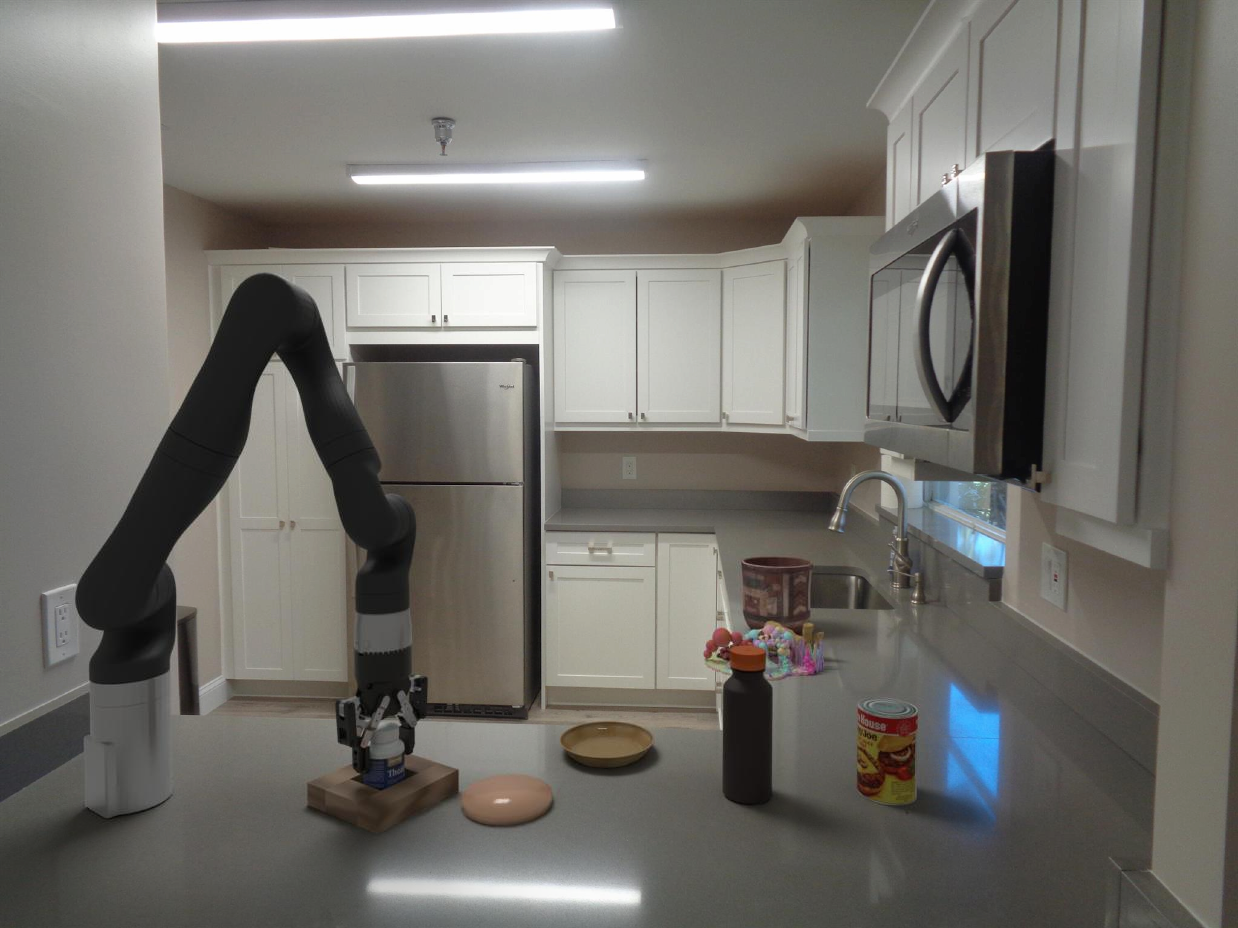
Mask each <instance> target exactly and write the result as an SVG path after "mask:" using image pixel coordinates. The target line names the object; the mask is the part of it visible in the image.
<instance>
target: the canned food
mask: <svg viewBox="0 0 1238 928" xmlns="http://www.w3.org/2000/svg"><path fill="white" fill-rule="evenodd" d="M918 717H919V711H918V707H916V706H915V705H914V704H912V703H910V702H907V701H904V700H902V699H896V698H893V697H892V698H891V697H884V696H883V697H879V696H875V697H866V698H863V699H860V700H859V701H858V702H857V725H856V727H857V731H856V732H857V737H856V739H857V743H856V744H857V745H856V747H857V750H856V751H857V753H856V763H857V764H856V790H857V793H858V794H859V795H860V796H862V797H863V798H865V799H866V800H868V801H870V802H873V803H877V804H881V805H885V806H894V807H895V806H906V805H910V804H913V803H914V802H915V801H916V800H917V799H918V797H917V796H918V791H917V790H918V737H919V735H918V734H919V733H918V731H919V730H918V728H919V727H918V726H919V723H918V722H919V718H918Z"/></svg>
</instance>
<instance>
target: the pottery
mask: <svg viewBox="0 0 1238 928" xmlns="http://www.w3.org/2000/svg"><path fill="white" fill-rule="evenodd" d="M740 562H741V574H742V575H741V576H742V591H743V592H742V613H743V617H744V619H743V620H744V621H745V623H746V625H747V627H748V628H749V629H750V631H751V630H754V629H755V630H760V629H763V628H764V626H765V624H766V622H768V621H774V622H777V623H779V624H780V625H781V626H783V627H785V628H787V629H790V630H792V631H793V632H794V633H795V634H796V635H799V634H800V633H802V632H803V625H804V624H805V623H810V622H809V621H810V618H811V585H812V575H813V568H814V562H813V561H811V560H808V559H805V558H801V557H800V558H799V557H792V556H777V555H774V556H773V555H772V556H770V555H769V556H768V555H767V556H766V555H765V556H754V557H747V558H745V559H742V560H741V561H740Z"/></svg>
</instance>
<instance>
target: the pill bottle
mask: <svg viewBox="0 0 1238 928" xmlns="http://www.w3.org/2000/svg"><path fill="white" fill-rule="evenodd" d="M399 726H400V725H399V723H398V724H397V723H396V722H389V721H388V722H386V721H385V722H380V723H379V725H378V728H377V729H376V730H375V731H373V733H372V736H371V738H370V741H369V743H368V746H370V772H369V773H368V774H365V775H364V785H367V786H370V787H372V788H375V789H378V790H380V791H382V790H384V789H386V788H388V787H391V786H393V785H395V784H397V783H399V782H401V781H403V780H405V755H404V754H405V748H404V743H403V742H402V741H401V740H400V739H398V737H399Z"/></svg>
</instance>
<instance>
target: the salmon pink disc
mask: <svg viewBox="0 0 1238 928" xmlns="http://www.w3.org/2000/svg"><path fill="white" fill-rule="evenodd" d="M552 804H553V790H552V788H551V786H550V785H549V783H547V781H544V780H543V779H541V778H538V777H535V776H531V775H525V774H516V773H515V774H501V775H494V776H489V777H486V778H483V779H480V780H478V781H476V782H474V783H472V784H470V785H469V786H468V787H466V789H465V790H464V791H463V793H462V794H461V811H462V813H463V814H464V815H465V816H466V817H467V818H468V819H470V820H472V821H474V822H476V823H481V824H485V825H490V826H491V825H492V826H509V825H517V824H522V823H526V822H530V821H533V820H535V819H537V818H539V817H541V816H543V815H544V814H545V813H547V811H549V810H550V808H551V806H552Z"/></svg>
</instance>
